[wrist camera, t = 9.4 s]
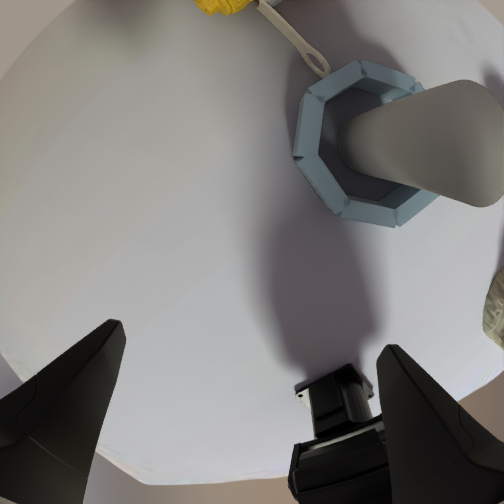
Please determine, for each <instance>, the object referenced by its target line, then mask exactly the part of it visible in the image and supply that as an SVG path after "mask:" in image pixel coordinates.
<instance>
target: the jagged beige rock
mask: <svg viewBox="0 0 504 504" xmlns="http://www.w3.org/2000/svg"><path fill="white" fill-rule="evenodd" d="M483 331H484V333H485V334H486V335H487V336H488V337H489V338H490V339H492V340H493V341H495V343H497V345H499V347H501V348H502V349H503V351H504V267H503V268H502V269H501V270H500V271H499V273H498V274H497V275H496V276H495V278H494V281H493V282H492V284H491V286H490V288H489V292H488V294H487V295H486V300H485V305H484V310H483Z"/></svg>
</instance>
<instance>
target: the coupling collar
mask: <svg viewBox="0 0 504 504" xmlns="http://www.w3.org/2000/svg"><path fill="white" fill-rule="evenodd" d="M350 87H354V88H358V89H361V90H365V91H368V92H372V93H375V94H378V95H381V96H384V97H387V98H390V99H393V101H396V100H398V99H401V98H404V97H407V96H410V95H413V94H416V93H419V92H422V91H425V89H424V88H423V86H422V85H421V83H420V82H418V83H415V78H414V77H411V76H409V75H407V74H404V73H401V72H399V71H396V70H393V69H391V68H388V67H385V66H382V65H379V64H376V63H373V62H370V61H366V60H363V59H361V60H360V61H359V62H358V61H357V60H354V61H353V62H351V63H349V64H347V65H346V66H344V67H342V68H340V69H339V70H337V71H335V72H333V73H332V74H330V75H328V76H327V77H325V78H323V79H322V80H320V81H319V82H317V83H315V84H314V85H312V86H311V87H309V88H308V89H307V91H306V92H305V94H304V95H303V97H302V99H301V100H300V102H299V109H298V116H297V124H296V131H295V139H294V146H293V153H292V156H297V157H298V158H297V159H296V160H294V162H295V164H296V165H297V166H298V168H299V169H300V170H301V172H302V173H303V174H304V176H305V177H306V179H307V180H308V181H309V183H310V184H311V186H312V187H313V188H314V190H315V191H316V193H317V194H318V195H319V197H320V198H321V200H322V201H323V203H324V204H325V206H326V207H328V208H329V209H330V210H331V211H332V212H333V213H334V214H335V215H336V214H337V215H338V216H339V217H340V218H343V219H349V220H355V221H360V222H366V223H371V224H376V225H381V226H386V227H391V228H395V226H396V225H397V226H399V227H400V226H402V225H403V224H404V223H406V222H407V221H408V220H410V219H411V218H412V217H413V216H415V215H416V214H417V213H418V212H420V211H421V210H422V209H424V208H425V207H426V206H427V205H429V204H430V203H431V202H432V201H433V200H435V199H436V198H437V197H438V196H440V195H439V194H435V193H432V192H429V191H426V190H422V189H419V188H415V187H412V186H408V185H405V184H401V185H400V186H399V187H397V188H396V189H395V190H393V191H392V192H391V193H389V194H388V195H387V196H385V197H384V198H382V199H381V200H380V201H373V200H369V199H364V198H359V197H354V196H349V195H345V193H344V192H343V190H342V189H341V187H340V186H339V184H338V183H337V181H336V180H335V178H334V177H333V175H332V174H331V172H330V171H329V169H328V168H327V167H326V165H325V164H324V162H323V161H322V160H321V158H320V157H319V155H318V149H319V142H320V134H321V127H322V119H323V111H324V104H325V103H326V102H328V101H329V100H331V99H333V98H334V97H336V96H337V95H339V94H341V93H342V92H344V91H345V90H347V89H349V88H350Z"/></svg>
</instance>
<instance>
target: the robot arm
mask: <svg viewBox="0 0 504 504" xmlns="http://www.w3.org/2000/svg"><path fill="white" fill-rule="evenodd" d="M125 344H126V336H125V332H124V329H123V325H122V322H121V321H119V320H115V319H108V320H107V321H106V322H104V323H103V324H101V325H100V326H99V327H97V328H96V329H95V330H93V331H92V332H91V333H89V334H88V335H87V336H85V337H84V338H83V339H81V340H80V341H79V342H77V343H76V344H75V345H73V346H72V347H71V348H69V349H68V350H67V351H65V352H64V353H63V354H61V355H60V356H59V357H57V358H56V359H55V360H53V361H52V362H51V363H50V364H48V365H47V366H46V367H44V368H43V369H42V370H41V371H39V372H38V373H37V374H36V375H34V376H33V377H31V378H30V379H29V380H28V381H26V382H25V383H24V384H22V385H21V386H20V387H18V388H17V389H15V390H14V391H12V392H11V393H9V394H8V395H6V396H5V397H3V398H2V399H0V504H83V499H84V494H85V489H86V485H87V481H88V476H89V472H90V468H91V464H92V460H93V456H94V452H95V449H96V445H97V442H98V438H99V435H100V431H101V428H102V425H103V421H104V418H105V415H106V412H107V409H108V406H109V403H110V400H111V397H112V394H113V391H114V388H115V385H116V382H117V378H118V374H119V369H120V365H121V361H122V356H123V352H124V348H125ZM376 366H377V376H378V387H379V398H380V405H381V411H382V413H381V414H380V415H378V416H376V417H374V418H373V416H372V413H371V410H370V407H369V404H368V401H367V400H369V399H371V398H372V397H373V396H374V393H373V391H372V389H371V388H370V387H369V385H368V384H367V383H366V382H365V380H364V379H363V378H362V376H361V375H360V374H359V373H358V371H357V370H356V369H355V367H354V366H353V365H352V364H348V365H346V366H344V367H342V368H340V369H338V370H337V371H335V372H333V373H331V374H329V375H327V376H326V377H324V378H322V379H320V380H318V381H316V382H314V383H312V384H310V385H308V386H306V387H304V388H302V389H300V390H298V391H296V393H295V395H296V398H297V399H298V400H299V401H301V402H302V403H303V404H304V405H305V406H306V407H307V408H309V409H310V410H311V415H312V423H313V431H314V440H311V441H308V442H304V443H298V444H294V449H293V453H292V459H291V465H290V470H289V476H288V488H289V489H290V490H291V492H292V495H293V496H294V498H295V500H296V501H297V502H299V504H504V442H502V441H500V440H498V439H497V438H496V437H495V436H493V435H492V434H491V433H490V432H489V431H488V430H487V429H485V428H484V427H483V426H482V425H481V424H479V423H478V422H477V421H476V420H475V419H474V418H473V417H472V416H471V415H470V414H469V413H468V412H467V411H466V410H465V409H464V408H463V407H461V405H459V404H458V403H457V402H456V401H455V400H454V399H453V398H452V397H451V396H450V395H449V394H448V393H447V392H446V391H445V390H444V389H443V388H442V387H441V386H440V385H439V384H438V383H437V382H436V381H435V380H434V379H433V378H432V377H431V376H430V375H429V374H428V373H427V372H426V371H425V370H424V369H423V368H422V367H421V366H420V365H419V364H418V363H417V362H416V361H414V360H413V359H412V358H411V357H410V356H409V355H408V354H407V353H406V352H405V351H404V350H403V349H402V348H401V347H400V346H399V345H397V344H388V345H386V346H385V348H384V349H383V351H382V352H381V354H380V356H379V357H378V359H377V363H376ZM348 369H349V370H348Z"/></svg>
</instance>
